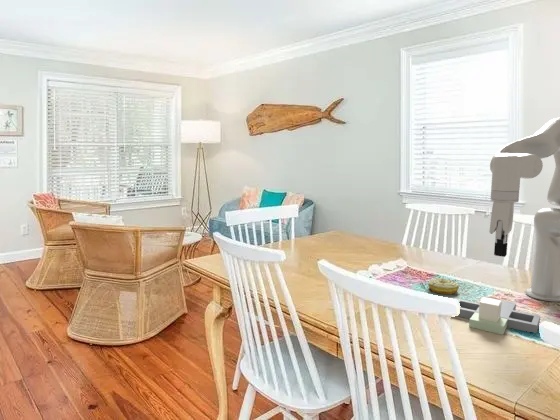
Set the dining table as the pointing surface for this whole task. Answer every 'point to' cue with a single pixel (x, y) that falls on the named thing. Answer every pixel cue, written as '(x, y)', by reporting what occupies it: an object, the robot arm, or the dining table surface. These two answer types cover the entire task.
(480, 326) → the board
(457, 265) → the dining table surface
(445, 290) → the decorated donut
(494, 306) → the cream block
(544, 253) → the robot arm
